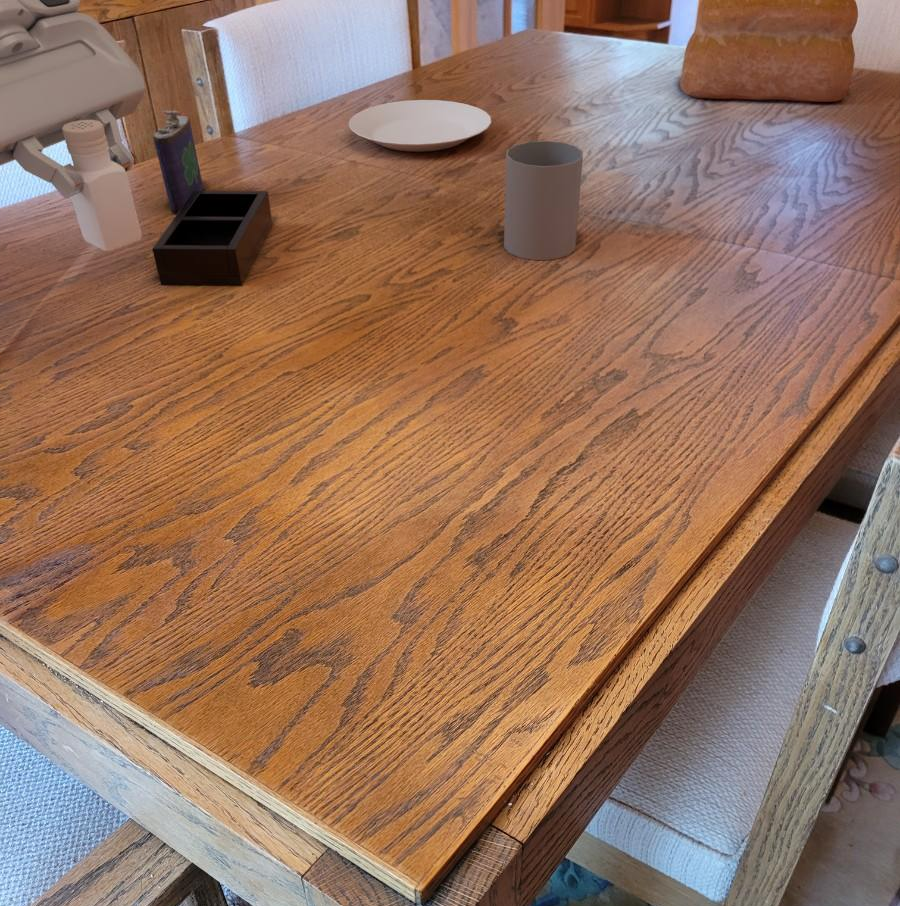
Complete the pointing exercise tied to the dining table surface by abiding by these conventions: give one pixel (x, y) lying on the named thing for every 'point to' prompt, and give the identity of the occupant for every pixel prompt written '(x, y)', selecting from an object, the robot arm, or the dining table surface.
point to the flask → (178, 160)
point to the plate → (420, 124)
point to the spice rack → (213, 238)
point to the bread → (771, 50)
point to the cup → (542, 199)
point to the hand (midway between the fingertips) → (102, 179)
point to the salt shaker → (100, 189)
